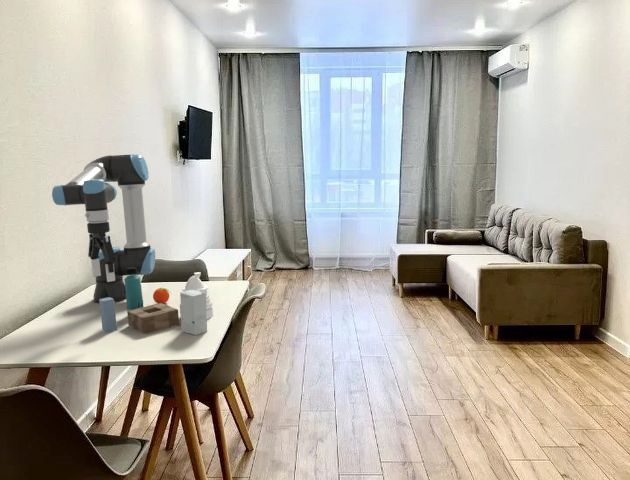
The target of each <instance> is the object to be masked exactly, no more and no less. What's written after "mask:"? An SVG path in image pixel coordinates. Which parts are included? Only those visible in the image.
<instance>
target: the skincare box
mask: <svg viewBox="0 0 630 480" xmlns="http://www.w3.org/2000/svg"><path fill="white" fill-rule="evenodd" d="M179 296H180V304H181V317H180V320H181V322H180V323H181V332H183V333H186V334H191V335H193V336H197V335H200V334H203V333H206V332H208V322H207V321H208V319H207V313H206V293H203V292H200V291H195V290H188V291H184V292H183V291H181V292H180V295H179Z"/></svg>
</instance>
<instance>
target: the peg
mask: <svg viewBox="0 0 630 480" xmlns="http://www.w3.org/2000/svg"><path fill="white" fill-rule="evenodd" d="M99 310H100V312H99V313H100V321H101V329H102V331H103V332H105V333H109V332H114V331H117V330H118V326H117V316H116V306H115V302H114V299H113V298H110V297H108V298H103V299H99Z"/></svg>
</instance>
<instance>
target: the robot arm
mask: <svg viewBox="0 0 630 480" xmlns="http://www.w3.org/2000/svg"><path fill="white" fill-rule="evenodd" d="M147 164H148V163H147V162H146V160H145V158H144V157H143V155H141V154H132V153H131V154H118V155H114V154H113V155H103V156H101V157H99V158H98V157H97V159H94V160H92V161H91V162H89V163H87V164H86V165H85V167H84V168H83V171H81V172H80V173H79V174H77V175H76V176H75V177H74V178H72V180H70V181H69V182H68V183H66V184H60V185H54V187H52V189H51V190H52V191H51V197H52V201H53V203H54V204H55V205H56V206H75V205H84V206H85V207H84V208H85V213H84V216H85V217H86V222H87V223H86V225H87V226H86V227H87V228H86V229H87V233H88V234H89V235H88V236H89V243H88V251H87V252H88V253H87V254H88V258H90V261H91V270H92V277H95V288H94V293H93V302H95V303H99V299H103V298H108V297H110V298H113V299H114V303H116V302H120V301H124V300H126V290H125V281H124V279H123V278H124V277H125V276H126V277H127V276H130V275H137V276H143V275H150V274H152V272H153V271H154V270H155V269H154V268H155V264H156V251H155V250H156V249H154V248H152V247H151V243H149V242H148V241H147V234H146V233H147V232H146V221H145V208H144V198H143V188H144V187H145V186H146V181H148V180H149V167H148V166H147ZM116 182H117V187H119V189H121V194H122V206H123V217H124V225H125V226H124V227H125V236H126V237H125V238H126V243H125V245H124V246H123V249H121V248H120V247H119V246H113V245H112V241H111V236H110V235H107V234H106V233H109V232H110V231H111V228H110V222H109V220H110V218H109V209H108V204H109V203H112V201H113V202H114V200H115V199H116V197H117V196H118V195H117V194H118V192H117V189H116V187H115V185H113V184H112V183H116ZM130 267H136V270H137V273H134V274H126V269H127V268H130Z"/></svg>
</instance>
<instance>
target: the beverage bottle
mask: <svg viewBox="0 0 630 480" xmlns="http://www.w3.org/2000/svg"><path fill="white" fill-rule="evenodd" d="M134 273H137V270H136V267H130V268H127V269H126V274H134ZM123 282H124V284H125V290H126V299H125V301H126V307H127V308H126V312H127V311H129V310H133V309H137V308H142V307H145V306H144V299H143V292H142V291H143V289H142V282H141V277H140V275H127V276H126V277H125V278H124V279H123Z"/></svg>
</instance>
